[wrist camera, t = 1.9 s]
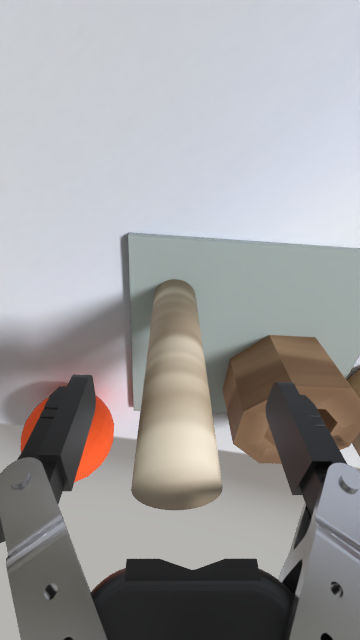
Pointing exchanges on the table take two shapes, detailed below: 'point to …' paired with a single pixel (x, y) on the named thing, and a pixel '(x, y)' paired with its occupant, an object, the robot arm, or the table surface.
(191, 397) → the birch peg
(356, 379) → the oak bead
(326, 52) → the table surface
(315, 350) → the walnut bead
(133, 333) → the grey mat
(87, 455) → the clementine
